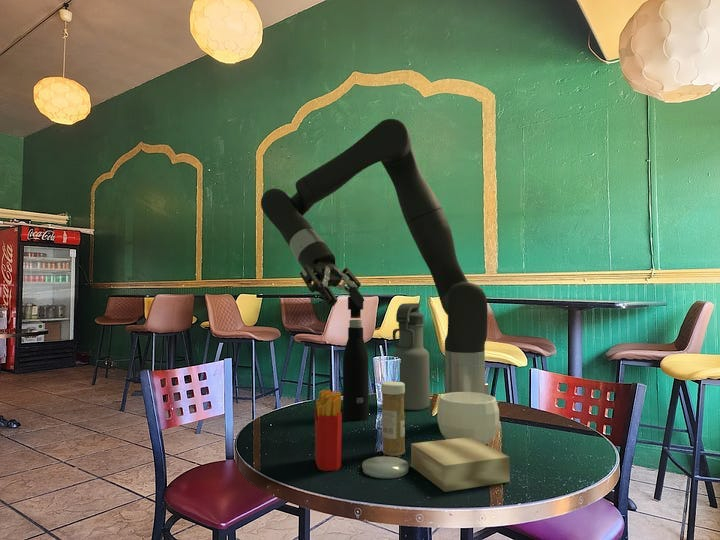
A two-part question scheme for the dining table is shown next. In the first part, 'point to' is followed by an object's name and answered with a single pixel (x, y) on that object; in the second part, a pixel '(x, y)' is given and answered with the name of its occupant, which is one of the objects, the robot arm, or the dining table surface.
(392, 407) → the sprinkles bottle
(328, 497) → the dining table surface
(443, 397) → the cup
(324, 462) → the french fries
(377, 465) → the pale grey dome
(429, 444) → the birch block
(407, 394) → the water bottle
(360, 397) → the black bottle
